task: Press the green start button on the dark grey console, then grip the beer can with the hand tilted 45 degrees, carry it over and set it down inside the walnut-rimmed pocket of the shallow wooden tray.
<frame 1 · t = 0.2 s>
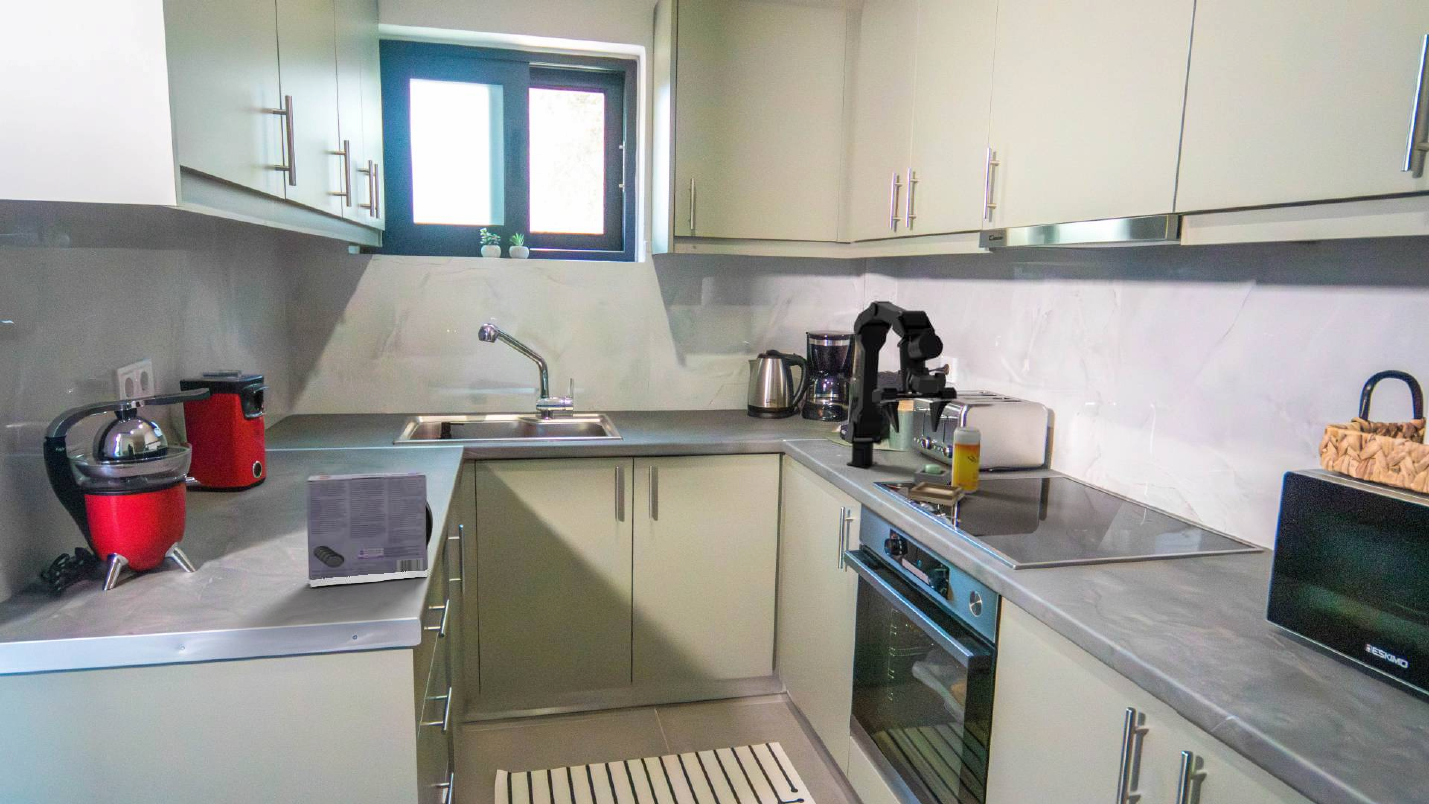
hand: (916, 432, 197), 15 cm above the table, tool pointing down, fingers open, 9 cm apart
cake pan box: (374, 580, 143), on the table
shallow wooden tray: (936, 497, 198), on the table
button console: (932, 483, 212), on the table
beer can: (964, 491, 205), on the table
start button: (932, 470, 211), point 3 cm above the table, slide at 0.0 cm
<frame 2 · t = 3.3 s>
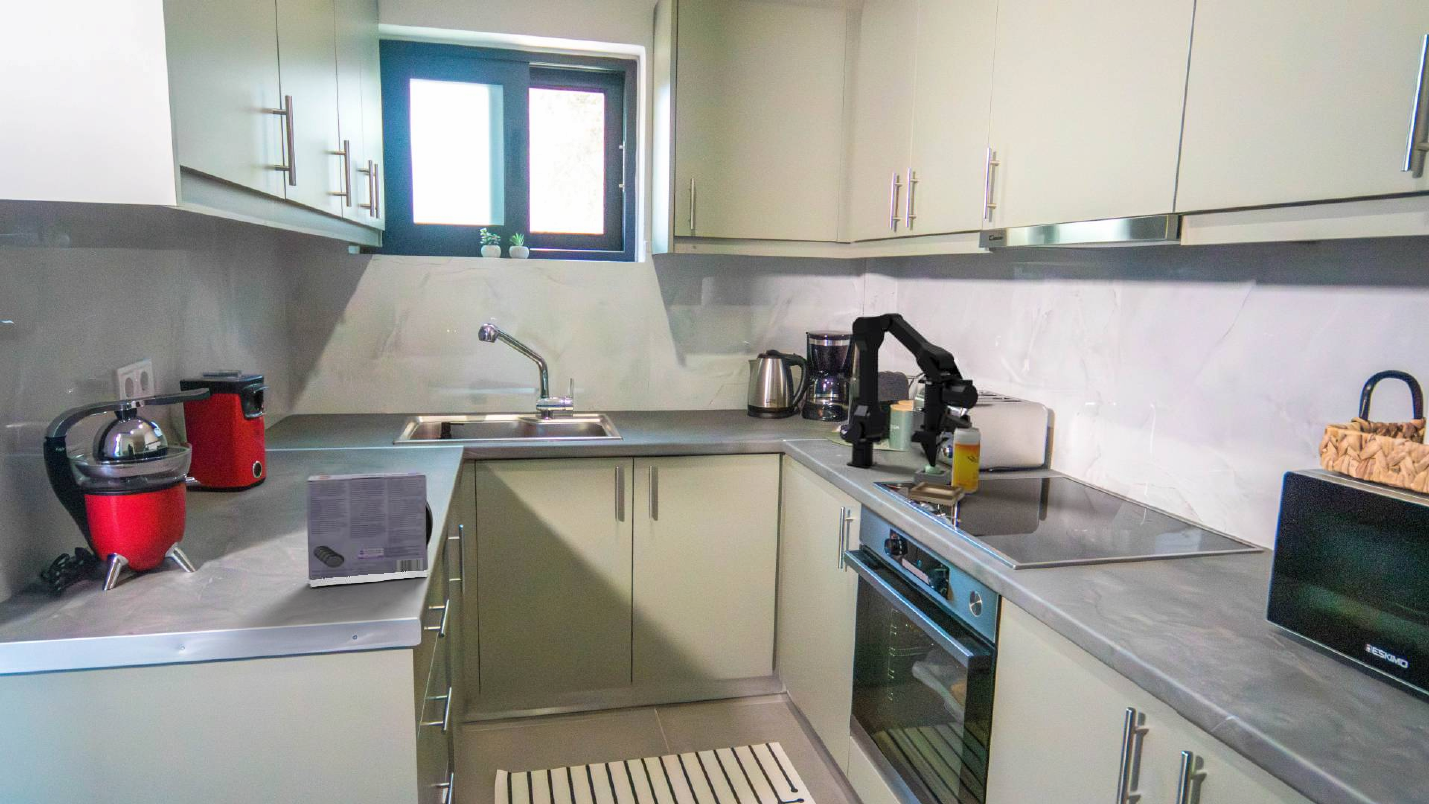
hand: (933, 466, 211), 4 cm above the table, tool pointing down, fingers closed, pressing on start button
start button: (932, 471, 211), point 3 cm above the table, slide at 0.2 cm, touching gripper
everything else where it was.
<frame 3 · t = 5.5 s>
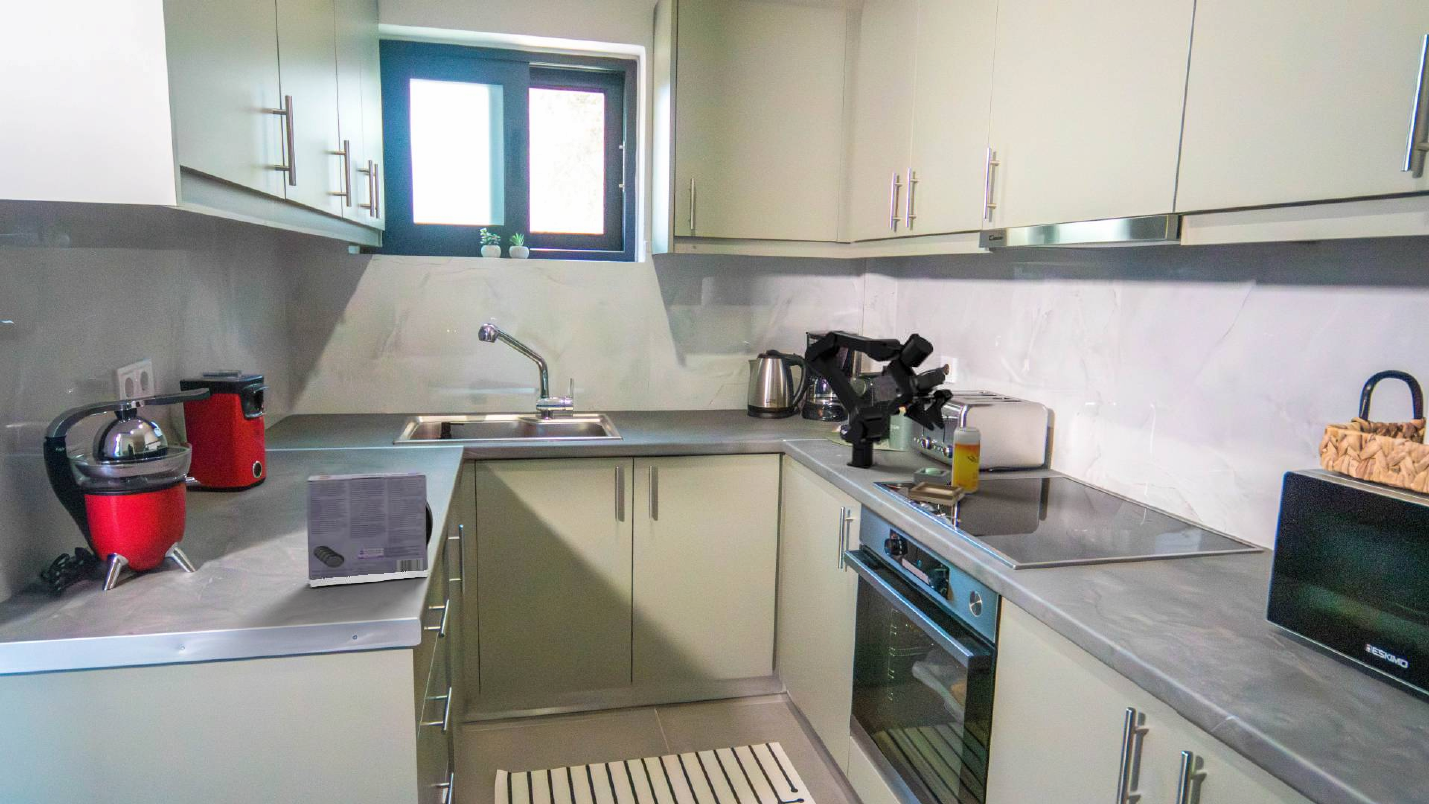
hand: (938, 429, 210), 14 cm above the table, tool tilted 45°, fingers open, 3 cm apart
start button: (932, 474, 211), point 2 cm above the table, slide at 0.9 cm
everything else where it was.
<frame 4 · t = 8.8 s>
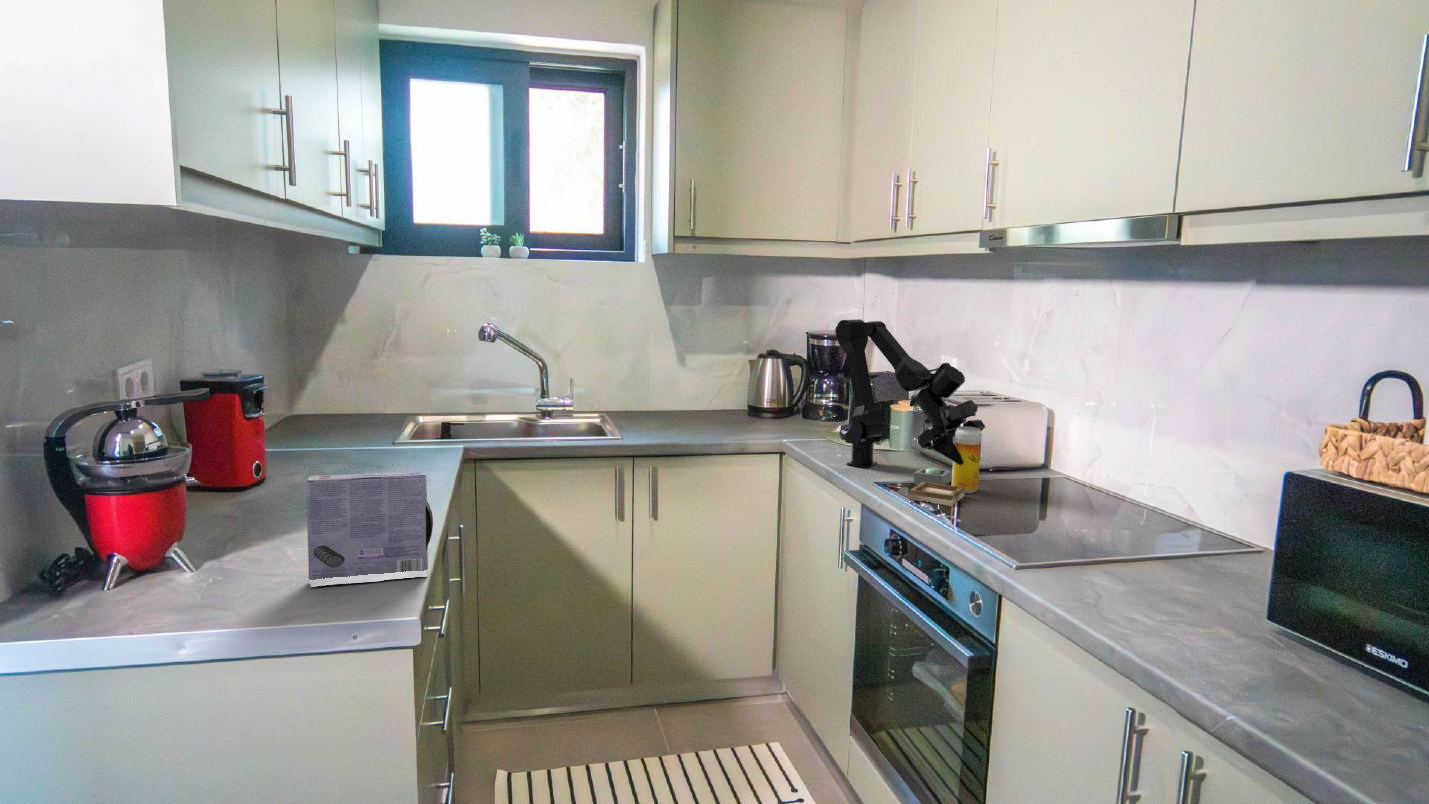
hand: (970, 462, 203), 7 cm above the table, tool tilted 45°, fingers closed on beer can, 6 cm apart
beer can: (964, 491, 205), on the table, touching gripper
everything else where it was.
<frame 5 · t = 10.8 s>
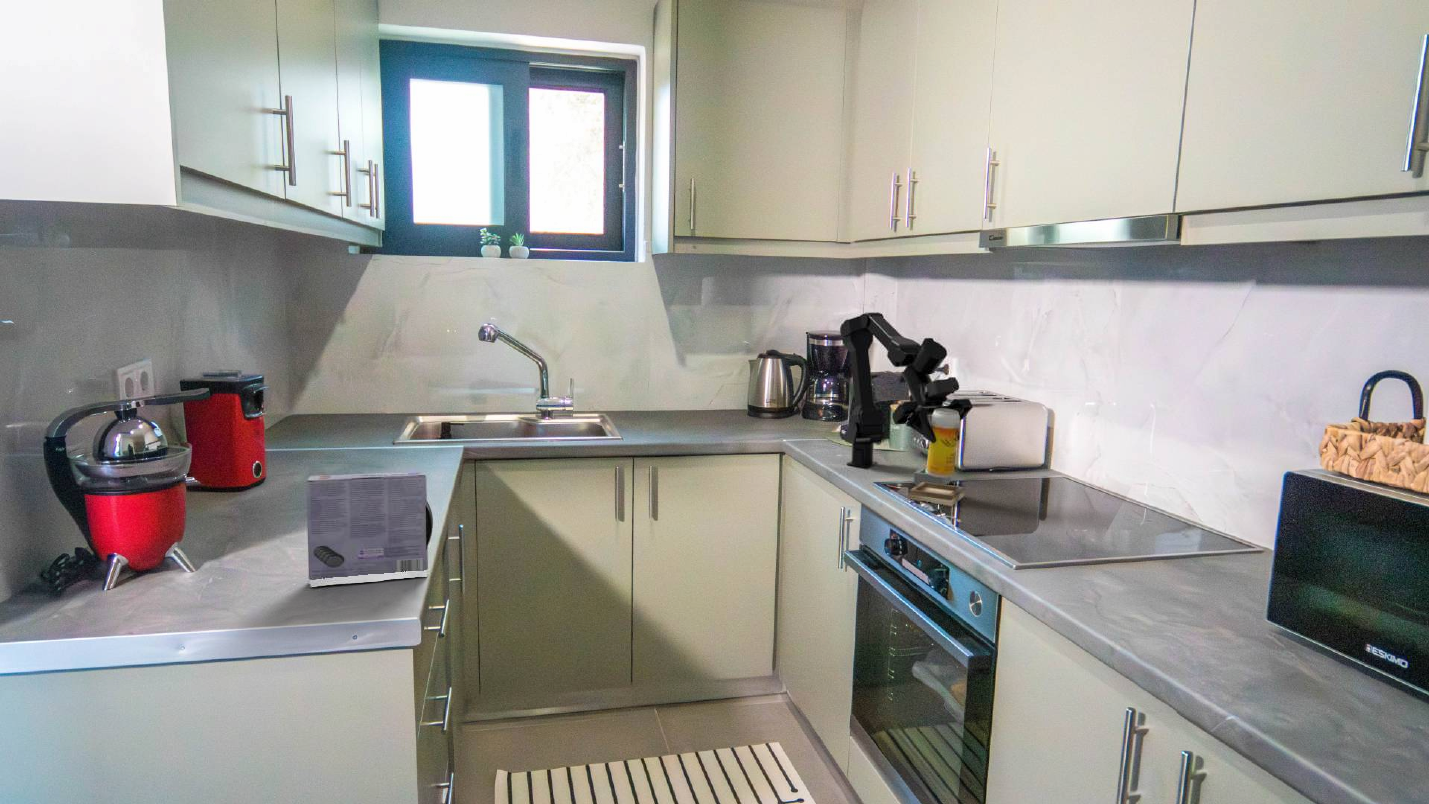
hand: (946, 441, 196), 13 cm above the table, tool tilted 45°, fingers closed on beer can, 6 cm apart
beer can: (939, 475, 199), point 5 cm above the table, touching gripper
everything else where it was.
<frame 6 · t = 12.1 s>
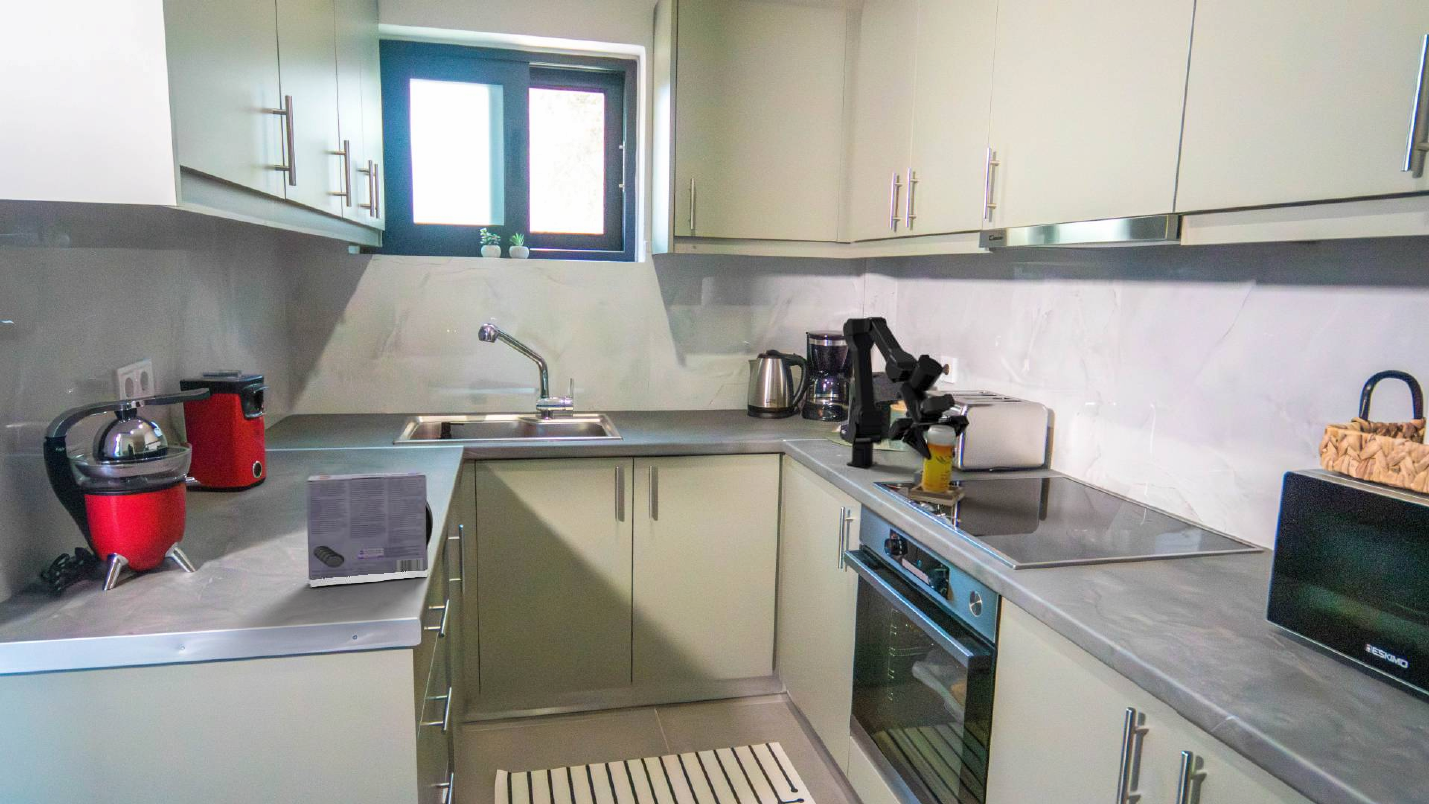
hand: (941, 458, 196), 10 cm above the table, tool tilted 45°, fingers closed on beer can, 6 cm apart
beer can: (934, 491, 199), point 1 cm above the table, touching gripper, shallow wooden tray
everything else where it was.
when the fingers open (10 cm above the table, at t = 12.3 s): beer can stays where it is, resting on shallow wooden tray.
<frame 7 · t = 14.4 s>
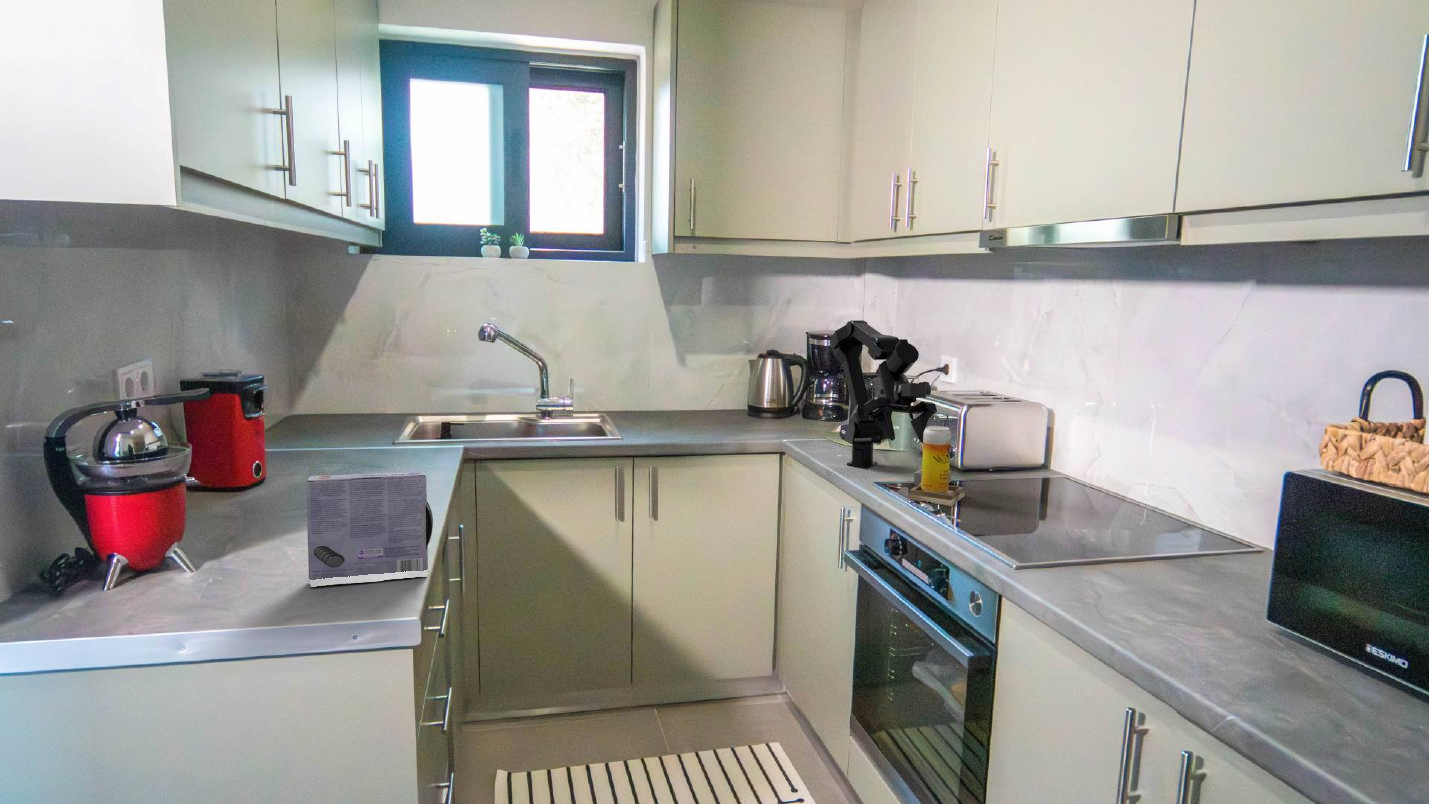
hand: (908, 441, 206), 11 cm above the table, tool tilted 35°, fingers open, 9 cm apart
beer can: (934, 492, 199), point 1 cm above the table, touching shallow wooden tray
everything else where it was.
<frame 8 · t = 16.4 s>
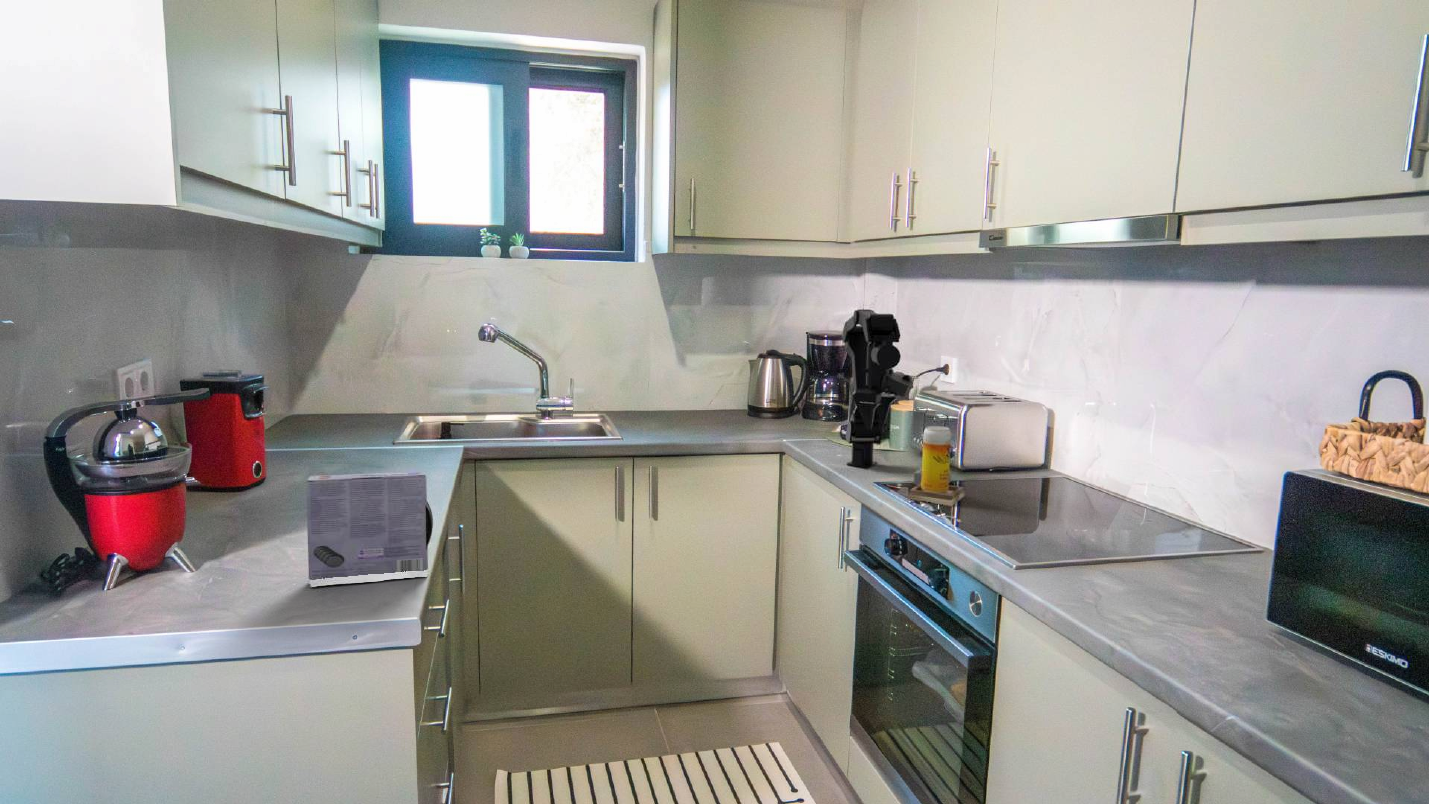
hand: (876, 426, 216), 13 cm above the table, tool pointing down, fingers open, 9 cm apart
nothing on the table moved.
at the end: beer can 0.8 cm off-centre on the shallow wooden tray, point 1.0 cm above the shallow wooden tray's base; beer can tilted 0°; start button slide at 0.9 cm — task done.
